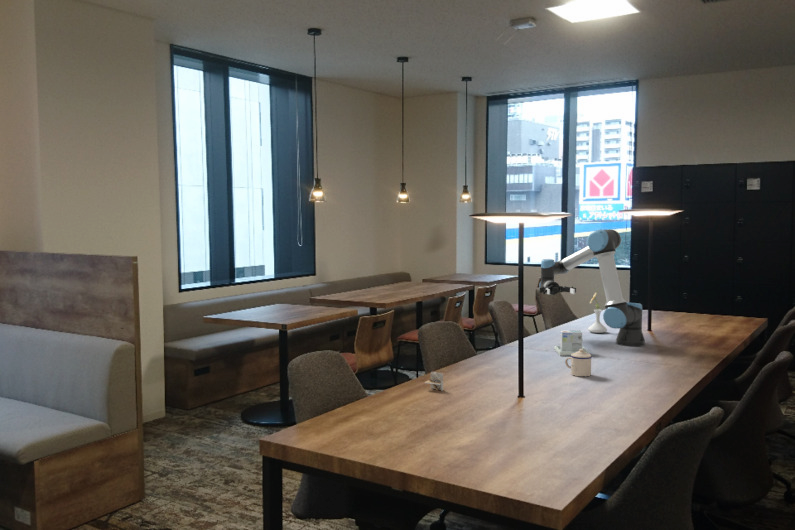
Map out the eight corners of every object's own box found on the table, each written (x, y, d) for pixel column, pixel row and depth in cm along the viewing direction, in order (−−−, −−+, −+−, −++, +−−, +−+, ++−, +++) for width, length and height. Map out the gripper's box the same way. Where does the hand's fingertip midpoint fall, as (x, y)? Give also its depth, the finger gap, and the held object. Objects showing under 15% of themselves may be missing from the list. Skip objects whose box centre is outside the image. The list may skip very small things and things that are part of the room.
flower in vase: (591, 330, 424) (592, 290, 422) (609, 332, 417) (610, 291, 415) (584, 333, 413) (584, 292, 411) (602, 335, 406) (603, 293, 404)
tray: (582, 349, 363) (582, 345, 362) (588, 356, 346) (589, 352, 346) (554, 349, 363) (554, 345, 363) (559, 355, 347) (559, 351, 347)
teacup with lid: (594, 374, 306) (595, 348, 306) (587, 378, 299) (587, 352, 298) (569, 370, 314) (569, 345, 313) (561, 374, 306) (561, 349, 305)
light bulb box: (580, 350, 358) (580, 330, 357) (582, 353, 351) (583, 332, 350) (559, 350, 359) (559, 329, 358) (561, 352, 352) (561, 332, 351)
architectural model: (440, 392, 278) (440, 374, 277) (424, 391, 281) (424, 373, 280) (443, 391, 281) (443, 373, 280) (428, 389, 284) (428, 371, 283)
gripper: (573, 294, 391) (584, 298, 370) (530, 294, 390) (538, 298, 369) (573, 281, 391) (584, 284, 370) (530, 281, 390) (538, 285, 369)
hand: (561, 291), depth 369 cm, fingers open, 13 cm apart
